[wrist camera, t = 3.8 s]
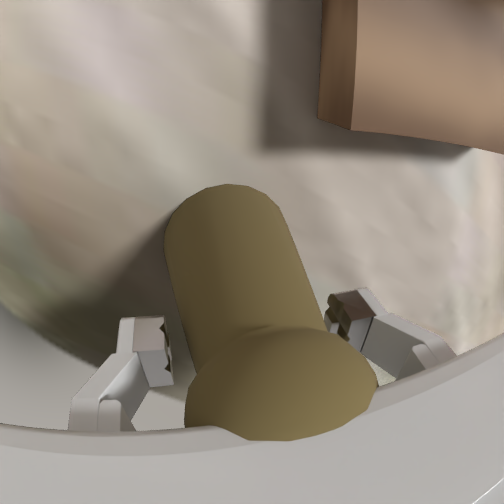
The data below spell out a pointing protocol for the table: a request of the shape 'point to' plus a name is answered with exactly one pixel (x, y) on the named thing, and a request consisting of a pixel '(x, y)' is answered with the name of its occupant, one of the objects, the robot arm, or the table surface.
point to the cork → (256, 324)
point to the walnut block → (415, 69)
